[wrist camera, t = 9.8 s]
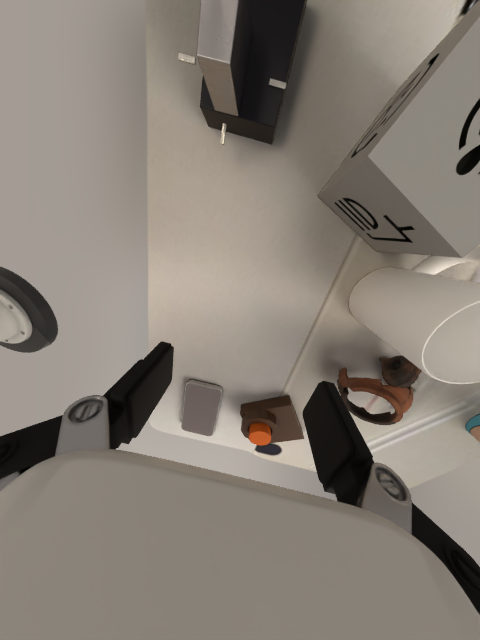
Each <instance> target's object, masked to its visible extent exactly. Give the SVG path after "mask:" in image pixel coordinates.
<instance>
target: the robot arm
mask: <svg viewBox="0 0 480 640" xmlns="http://www.w3.org/2000/svg"><path fill="white" fill-rule="evenodd" d="M31 334H32V324H31V321H30V318H29V316H28V315H27V313H26V311H25V310H24V309H23V307H22V306H21V305H20V304H19V303H18V302H17V301H16V300H15V299H14V298H13V297H12V296H10V295H9V294H8V293H6V292H5V291H3V290H1V289H0V342H1V341H2V342H5V343H11V344H15V343H20V342H23V341H25V340H27V339H28V338H29V337H30V336H31ZM173 352H174V347H172V346H171V344H170V343H166V342H160V343H159V344H158V345H157V346H156V347H155V348H154V349H153V350H152V351H151V352H150V353H149V354H148V355H147V356H146V357H145V358H144V360H139V361H138V362H137V363H136V364H135V365H134V366H133V367H132V368H131V369H130V370H129V371H128V372H127V373H126V374H125V375H124V376H123V377H121V379H120V380H119V381H117V383H116V384H114V385H113V386H112V388H110V389H109V390H108V391H107V392H106V393H105V394H104V395H103V396H100V395H92V396H87V397H84V398H81V399H79V400H78V401H76V402H74V403H73V404H72V405H70V406H69V407H68V408H67V410H66V411H65V412H64V415H62V416H59V417H56V418H53V419H50V420H47V421H44V422H41V423H38V424H35V425H32V426H30V427H27V428H24V429H21V430H18V431H15V432H12V433H9V434H6V435H3V436H0V640H480V567H479V566H478V564H477V563H476V562H475V561H474V559H473V558H472V557H471V556H470V555H469V554H468V553H467V552H466V551H465V550H464V549H463V548H462V547H460V546H459V545H458V544H457V543H456V542H455V541H454V540H452V538H450V537H449V536H448V535H447V534H446V533H445V532H444V531H443V530H442V529H441V528H439V527H438V526H437V525H436V524H435V523H434V522H433V521H432V520H431V519H430V518H428V517H427V516H426V515H425V514H424V513H423V512H422V511H421V510H420V509H419V508H417V507H416V506H415V505H414V504H413V503H412V500H411V495H410V492H409V490H408V488H407V486H406V485H405V483H404V482H403V481H402V479H401V478H400V477H399V476H398V475H397V474H396V473H395V472H394V471H393V470H392V469H390V468H389V467H387V466H386V465H383V464H381V463H374V461H373V459H372V458H373V456H372V454H371V452H370V450H369V448H368V447H367V445H366V443H365V441H364V439H363V437H362V435H361V433H360V432H359V430H358V428H357V426H356V424H355V422H354V420H353V418H352V416H351V415H350V413H349V411H348V409H347V407H346V405H345V403H344V401H343V400H342V398H341V396H340V394H339V392H338V390H337V388H336V386H335V385H334V383H331V382H327V381H322V382H320V383H319V384H318V385H317V387H316V389H315V391H314V392H313V394H312V396H311V398H310V399H309V401H308V403H307V405H306V406H305V408H304V410H303V419H304V423H305V427H306V430H307V434H308V438H309V442H310V446H311V450H312V454H313V458H314V462H315V466H316V470H317V474H318V478H319V480H320V482H321V483H322V484H323V488H324V491H325V492H329V493H333V494H336V497H337V501H334V500H331V499H327V498H323V497H319V496H315V495H311V494H307V493H303V492H298V491H294V490H291V489H287V488H283V487H279V486H275V485H271V484H266V483H262V482H258V481H254V480H250V479H245V478H242V477H238V476H233V475H229V474H225V473H221V472H217V471H213V470H208V469H204V468H200V467H196V466H191V465H187V464H183V463H178V462H174V461H170V460H165V459H161V458H156V457H152V456H147V455H143V454H138V453H133V452H127V451H121V450H115V449H116V448H118V447H119V446H120V444H121V443H126V444H129V443H130V441H131V439H132V438H136V437H137V436H138V434H139V433H140V431H141V429H142V428H143V426H144V425H145V423H146V421H147V420H148V418H149V417H150V415H151V414H152V412H153V410H154V409H155V407H156V406H157V404H158V402H159V401H160V399H161V398H162V396H163V394H164V393H165V391H166V389H167V388H168V386H169V385H170V383H171V380H172V369H173Z"/></svg>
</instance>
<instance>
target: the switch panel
mask: <svg viewBox="0 0 480 640" xmlns="http://www.w3.org/2000/svg"><path fill="white" fill-rule="evenodd" d="M306 3H307V0H252V11H253V30H252V37H251V43H250V49H249V55H248V61H247V67H246V73H245V79H244V86H243V92H242V98H241V104H240V110H239V116H235V115H231V114H227V113H224V112H220V111H216V110H215V109H214V106H213V103H212V100H211V97H210V94H209V91H208V88H207V85H206V82H205V79H204V76H203V81H202V91H201V101H200V108H201V110H202V112H203V114H204V117H205V119H206V121H207V124H208V126H209V127H212V128H216V129H219V130H222V133H221V140H220V144H222V145H224V141H225V134H226V132H230V133H234V134H237V135H241V136H244V137H248V138H252V139H255V140H259V141H262V142H266V143H269V144H273V140H274V136H275V131H276V127H277V123H278V119H279V115H280V111H281V107H282V103H283V98H284V94H285V90H286V86H287V82H288V78H289V74H290V70H291V65H292V61H293V57H294V53H295V49H296V45H297V41H298V37H299V32H300V28H301V24H302V20H303V16H304V12H305V8H306ZM178 59H179V61H182V62H186V63H190V64H193V65H195V62H196V58H195V57H193V56H190V55H186V54H183V53H179V58H178Z"/></svg>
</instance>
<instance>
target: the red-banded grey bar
mask: <svg viewBox="0 0 480 640" xmlns="http://www.w3.org/2000/svg"><path fill="white" fill-rule="evenodd" d="M252 30H253V11H252V0H201V7H200V20H199V32H198V45H197V58H198V61H199V64H200V67H201V70H202V73H203V76H204V79H205V82H206V85H207V88H208V91H209V94H210V97H211V100H212V103H213V106H214V109H215V110H216V111H220V112H224V113H227V114H231V115H235V116H239V110H240V104H241V98H242V92H243V86H244V79H245V73H246V67H247V61H248V55H249V49H250V43H251V37H252Z"/></svg>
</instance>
